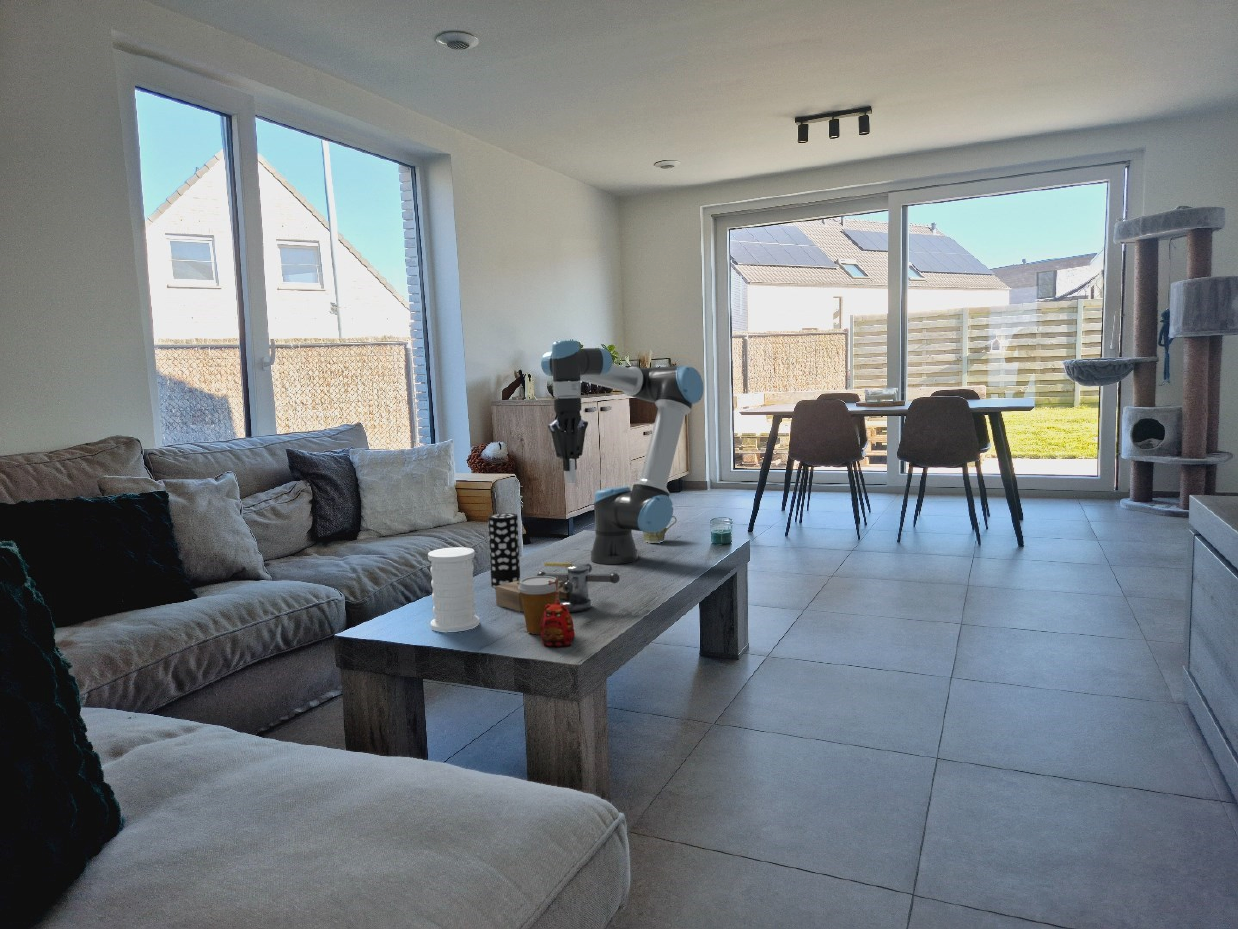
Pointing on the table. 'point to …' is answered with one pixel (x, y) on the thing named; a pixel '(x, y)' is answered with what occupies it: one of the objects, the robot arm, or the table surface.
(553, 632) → the red clay folk toy
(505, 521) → the spotted tube
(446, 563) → the decorative container
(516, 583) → the walnut stand
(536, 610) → the disposable coffee cup
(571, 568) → the capstan
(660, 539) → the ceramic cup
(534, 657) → the table surface
